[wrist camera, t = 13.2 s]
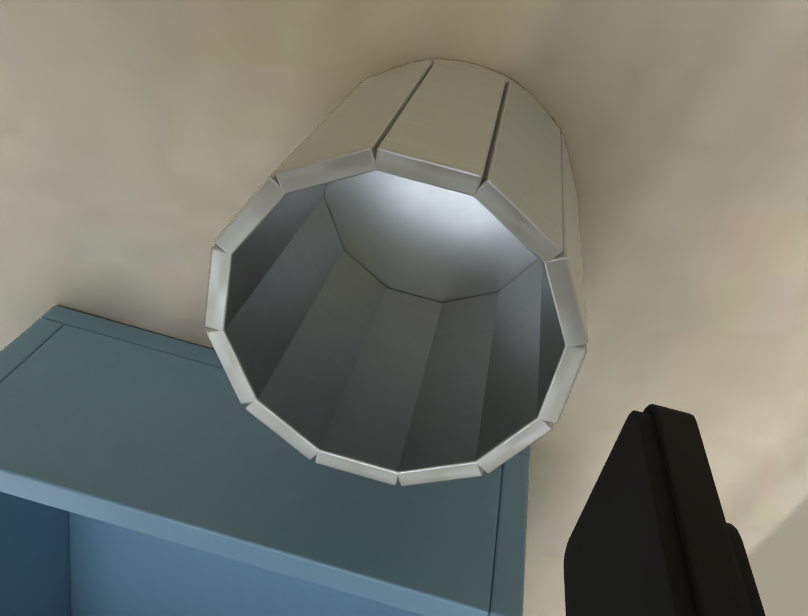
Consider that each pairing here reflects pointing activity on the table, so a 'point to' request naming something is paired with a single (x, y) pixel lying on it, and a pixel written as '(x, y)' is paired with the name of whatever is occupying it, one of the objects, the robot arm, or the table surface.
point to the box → (218, 498)
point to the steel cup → (409, 280)
